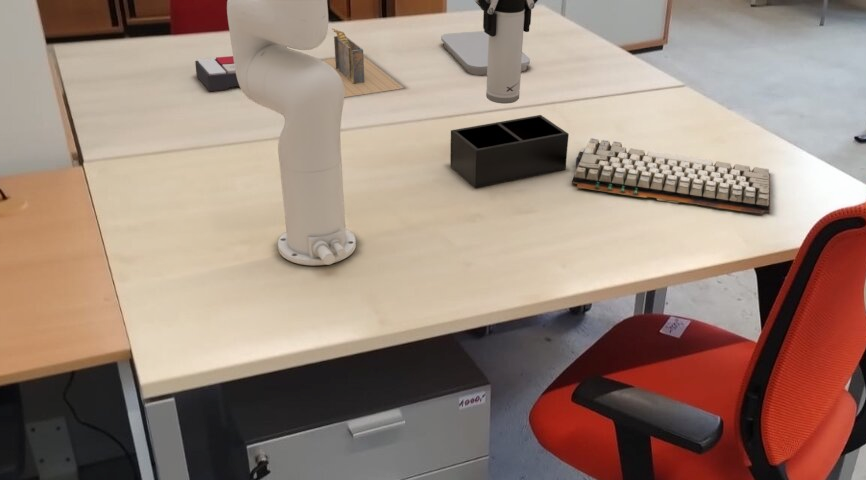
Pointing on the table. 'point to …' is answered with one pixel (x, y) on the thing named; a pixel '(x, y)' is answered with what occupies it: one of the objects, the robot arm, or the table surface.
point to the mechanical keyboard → (672, 178)
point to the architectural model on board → (357, 69)
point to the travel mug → (506, 52)
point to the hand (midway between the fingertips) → (506, 31)
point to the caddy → (508, 150)
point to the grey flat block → (473, 51)
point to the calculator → (217, 73)
